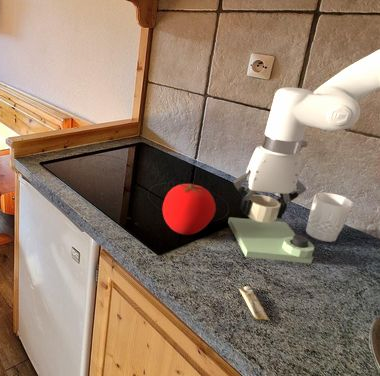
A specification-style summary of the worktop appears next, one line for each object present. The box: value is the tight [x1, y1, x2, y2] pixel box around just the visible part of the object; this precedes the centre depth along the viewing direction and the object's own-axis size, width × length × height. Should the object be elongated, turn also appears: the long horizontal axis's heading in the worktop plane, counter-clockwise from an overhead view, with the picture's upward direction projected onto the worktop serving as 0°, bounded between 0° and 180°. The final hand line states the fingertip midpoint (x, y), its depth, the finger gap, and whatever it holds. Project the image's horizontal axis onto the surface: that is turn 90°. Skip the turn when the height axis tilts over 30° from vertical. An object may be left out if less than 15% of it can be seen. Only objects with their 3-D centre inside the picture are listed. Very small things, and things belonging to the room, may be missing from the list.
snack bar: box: [236, 285, 271, 323], centre depth 77 cm, size 10×2×3 cm
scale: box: [227, 216, 315, 264], centre depth 98 cm, size 14×16×4 cm
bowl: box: [246, 194, 281, 223], centre depth 97 cm, size 7×7×4 cm
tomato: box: [162, 182, 217, 236], centre depth 100 cm, size 12×12×13 cm
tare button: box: [291, 234, 310, 248], centre depth 91 cm, size 3×3×2 cm
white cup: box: [305, 192, 354, 243], centre depth 100 cm, size 8×8×10 cm
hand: (260, 213), depth 98 cm, fingers closed on bowl, 6 cm apart
